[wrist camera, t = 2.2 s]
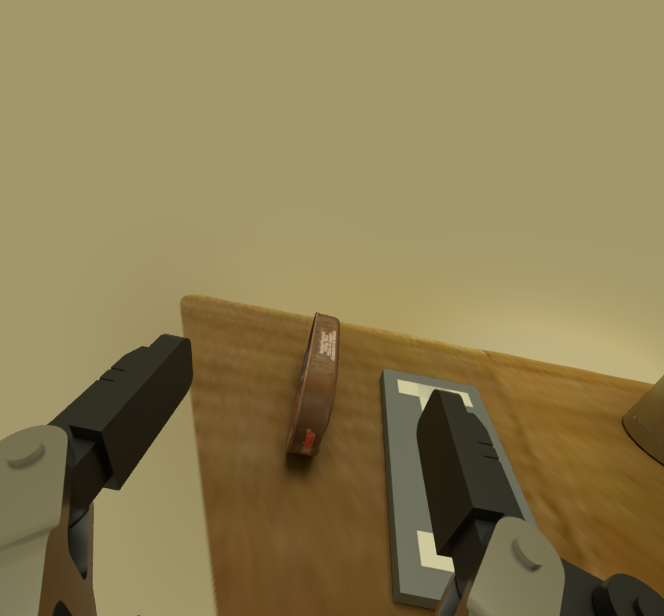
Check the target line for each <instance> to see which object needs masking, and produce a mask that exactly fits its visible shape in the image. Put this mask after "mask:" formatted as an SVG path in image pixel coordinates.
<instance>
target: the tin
mask: <svg viewBox="0 0 664 616" xmlns="http://www.w3.org/2000/svg"><path fill="white" fill-rule="evenodd" d="M339 335H340V322H339V320H338V319H337V318H335V317H331V316H327V315H323V314H319V313H318V312H316V314H315V317H314V321H313V325H312V329H311V333H310V337H309V342H308V346H307V350H306V354H305V357H304V361H303V366H302V371H301V376H300V380H299V385H298V390H297V395H296V400H295V405H294V409H293V414H292V419H291V424H290V429H289V434H288V440H287V445H286V453H289V452H292V453H297V454H302V455H307V456H316V455H317V454H318V453H319V446H320V443H321V440H322V437H323V434H324V432H325V431H326V428H327V426H328V423H329V420H330V416H331V412H332V407H333V402H334V396H335V390H336V382H337V372H338V356H339Z"/></svg>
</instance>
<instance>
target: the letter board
mask: <svg viewBox="0 0 664 616" xmlns="http://www.w3.org/2000/svg"><path fill="white" fill-rule="evenodd" d="M380 383H381V399H382V416H383V433H384V450H385V466H386V483H387V500H388V517H389V534H390V550H391V567H392V584H393V601H394V602H398V603H403V604H408V605H414V606H419V607H424V608H429V609H434V610H436V608H437V606H438V604H439V601H440V599H441V597H442V595H443V593H444V590H445V588H446V586H447V584H448V581H449V579H450V577H451V575H452V573H453V572H454V566H453V561H452V558H450V557H445V556H440V555H437V554H436V548H435V542H434V537H433V531H432V525H431V519H430V514H429V508H428V502H427V496H426V491H425V485H424V479H423V473H422V468H421V462H420V456H419V450H418V444H417V438H416V431H417V424H418V421H419V418H420V416H421V414H422V412H423V410H424V408H425V406H426V404H427V401H428V399H429V397H430V395H431V393H432V391H433V390H434V389H438V390H443V391H448V392H453V393H458V394H460V395H461V397H462V399H463V402H464V404H465V407H466V410H467V412H469V413H474V414H475V415H476V416H477V418H478V419H479V420H480V421H481V422H482V424H483V425H484V426H485V427H486V429H487V431H488V433H489V436H490V438H491V440H492V443H493V448H495V450H496V452H497V455H498V457H499V462H501V464H502V467H503V469H504V471H505V474H506V476H507V479H508V481H509V483H510V486H511V488H512V490H513V493H514V495H515V498H516V500H517V502H518V505H519V507H520V510H521V512H522V514H523V516H524V519H525V521H526V522H528V523H530V524H531V525H532V526H534V527H535V528H536V529H538V527H537V525H536V522H535V520H534V518H533V516H532V513H531V511H530V509H529V506H528V504H527V502H526V500H525V497H524V495H523V493H522V490H521V488H520V486H519V484H518V481H517V479H516V477H515V474H514V472H513V470H512V467H511V465H510V463H509V461H508V458H507V456H506V454H505V451H504V449H503V447H502V445H501V442H500V440H499V438H498V435H497V433H496V431H495V429H494V426H493V424H492V422H491V419H490V417H489V415H488V413H487V410H486V408H485V406H484V403H483V401H482V399H481V397H480V394H479V392H478V390H477V387H475V386H470V385H465V384H460V383H455V382H450V381H445V380H439V379H434V378H429V377H424V376H419V375H414V374H409V373H404V372H399V371H394V370H388V369H383V371H382V374H381V377H380ZM538 530H539V529H538Z"/></svg>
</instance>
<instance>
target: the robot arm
mask: <svg viewBox="0 0 664 616" xmlns="http://www.w3.org/2000/svg"><path fill="white" fill-rule="evenodd" d="M192 378H193V367H192V352H191V342H190V340H189V339H188V338H184V337H179V336H173V335H169V334H163V335H161V336H160V337H159V338H158V339H157V340H156V341H155V342H153V344H151V345H150V347H144V346H142V347H140V348H138V349H136V350H134V351H132V352H130V353H128V354H126V355H124V356H123V357H122V358H121V359H120V360H119V361H118V362H116V363H115V364H114V365H113V366H112V367H111V370H108V371H106V372H105V373H104V374H103V375H102V376H101V377H100V379H99V380H97V381H95V382H94V383H93V384H92V385H91V386H90V387H89V388H88V389H87V390H85V392H83V393H82V394H81V395H80V396H79V397H78V398H77V399H76V400H75V401H73V402H72V403H71V404H70V405H69V406H68V407H67V408H66V409H65V410H64V411H62V412H61V413H60V414H59V415H58V416H57V417H56V418H55V419H53V421H51V422H50V423H49V424H47V425H41V426H35V427H30V428H27V429H24V430H21V431H18V432H16V433H14V434H12V435H9V436H8V437H6V438H4V439H3V440H1V441H0V616H97V613H96V604H95V599H94V593H93V583H92V582H93V523H94V522H93V521H94V503H93V500H94V499H95V497H96V496H97V495H98V493H99V492H100V491H101V489H102V488H109V489H113V490H120V489H121V487H122V486H123V484H124V483H125V481H126V480H127V479H128V477H129V476H130V474H131V473H132V471H133V470H134V468H135V467H136V466H137V464H138V463H139V461H140V460H141V458H142V457H143V455H144V454H145V453H146V451H147V450H148V448H149V447H150V446H151V444H152V443H153V441H154V440H155V438H156V437H157V435H158V434H159V433H160V431H161V430H162V428H163V427H164V425H165V424H166V422H167V421H168V420H169V418H170V417H171V415H172V414H173V412H174V411H175V409H176V408H177V407H178V405H179V404H180V402H181V401H182V399H183V398H184V397H185V395H186V394H187V392H188V390H189V388H190V386H191V383H192ZM623 423H624V426H625V428H626V430H627V432H628V433H629V434H630V435H631V437H632V438H633V439H634V440H635V441H636V442H637V443H638V444H639V445H640V446H641V447H642V448H643V449H644V450H645V451H647V452H648V453H649V454H650V455H651V456H653V457H654V458H656V459H657V460H658V461H660V462H661V463H663V464H664V375H663V376H662V378H661V379H660V380H659V381H658V382H657V383H656V384H655V385H654V386H653V387H652V388H651V389H650V390H649V391H648V392H647V393H646V394H645V395H644V396H643V397H642V398H641V399H640V400H639V401H638V402H637V403H636V404H635V405H634V406H633V407H632V408H631V409H630V410H629V411H628V412H627V414H626V415H625V416H624V417H623ZM416 438H417V444H418V450H419V456H420V462H421V468H422V473H423V479H424V485H425V491H426V496H427V502H428V508H429V514H430V519H431V525H432V531H433V537H434V542H435V548H436V554H437V555H440V556H445V557H450V558H452V561H453V566H454V572H453V573H452V575H451V577H450V579H449V581H448V584H447V586H446V588H445V590H444V593H443V595H442V597H441V599H440V601H439V604H438V606H437V608H436V610H435V613H434V615H433V616H664V599H663V598H662V597H661V596H660V595H659V594H658V593H657V592H655V591H654V590H653V589H652V588H650V587H649V586H648V585H646V584H645V583H643V582H642V581H640V580H638V579H636V578H634V577H632V576H629V575H626V574H615V575H613V576H611V577H610V578H608V579H607V580H605V581H602V580H601V579H599V578H597V577H595V576H593V575H591V574H589V573H587V572H586V571H584V570H582V569H580V568H578V567H576V566H574V565H572V564H571V563H569V562H567V561H565V560H563V559H562V558H560V557H559V556H558V554H557V552H556V550H555V549H554V547H553V546H552V544H551V543H550V542H549V541H548V539H547V538H546V537H545V536H544V535H543V534H542V533H541V532H540V531H539V530H538V529H536V528H535V527H534V526H532V525H531V524H530V523H528V522H526V521H525V519H524V516H523V514H522V512H521V510H520V507H519V505H518V502H517V500H516V498H515V495H514V493H513V490H512V488H511V486H510V483H509V481H508V479H507V476H506V474H505V471H504V469H503V467H502V464H501V462H499V457H498V455H497V452H496V450H495V448H493V443H492V440H491V438H490V436H489V433H488V431H487V429H486V427H485V426H484V425H483V424H482V422H481V421H480V420H479V419H478V418H477V416H476V415H475V414H474V413H469V412H467V410H466V407H465V404H464V402H463V399H462V397H461V395H460V394H458V393H453V392H448V391H443V390H438V389H434V390H433V391H432V393H431V395H430V397H429V399H428V401H427V404H426V406H425V408H424V410H423V412H422V414H421V416H420V418H419V421H418V424H417V431H416ZM138 616H139V615H138Z"/></svg>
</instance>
